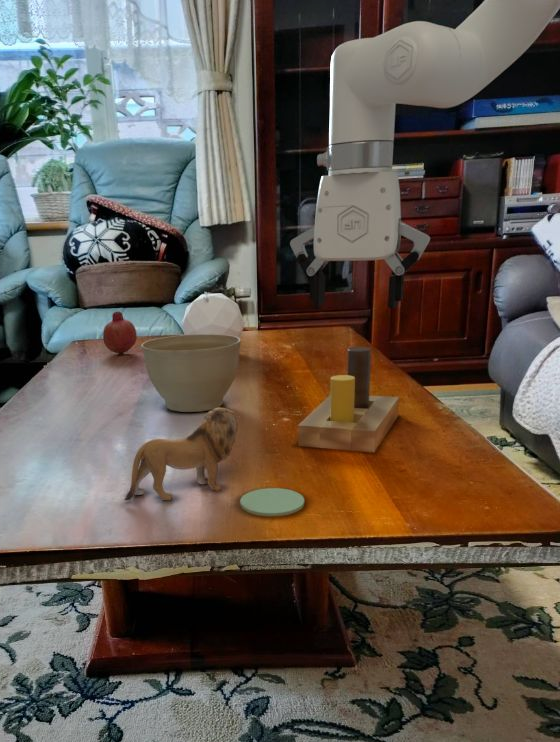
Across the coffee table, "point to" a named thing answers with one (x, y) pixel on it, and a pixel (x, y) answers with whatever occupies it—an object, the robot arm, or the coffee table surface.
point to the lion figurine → (187, 453)
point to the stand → (349, 426)
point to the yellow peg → (342, 398)
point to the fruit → (119, 334)
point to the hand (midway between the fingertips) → (355, 306)
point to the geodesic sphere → (213, 316)
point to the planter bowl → (192, 369)
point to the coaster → (272, 502)
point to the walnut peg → (360, 374)
